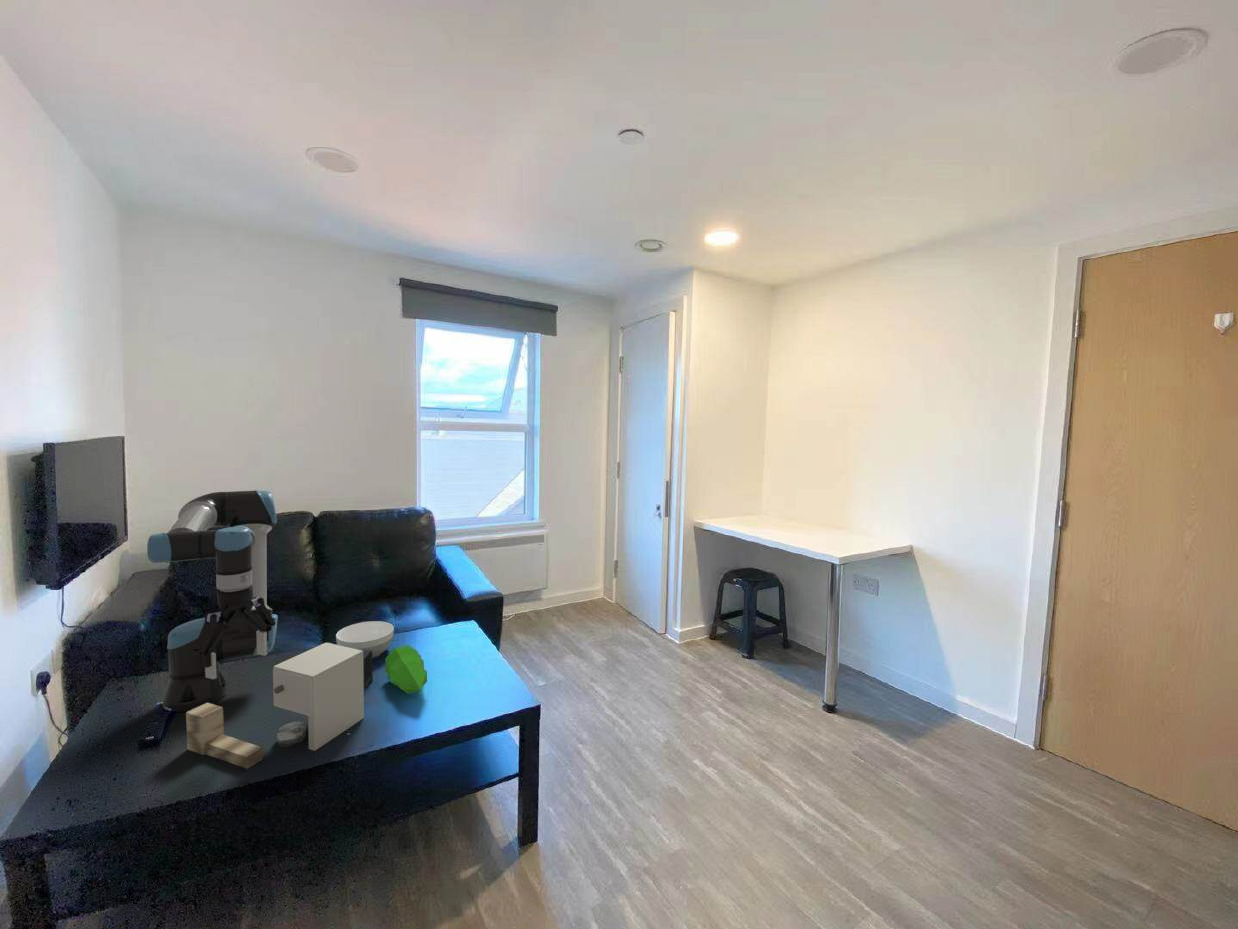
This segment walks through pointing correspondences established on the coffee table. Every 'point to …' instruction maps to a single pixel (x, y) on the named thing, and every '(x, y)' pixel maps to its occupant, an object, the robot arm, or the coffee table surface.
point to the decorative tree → (406, 669)
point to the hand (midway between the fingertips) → (237, 665)
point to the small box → (367, 667)
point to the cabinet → (322, 689)
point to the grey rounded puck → (291, 733)
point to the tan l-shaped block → (218, 738)
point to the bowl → (366, 636)
